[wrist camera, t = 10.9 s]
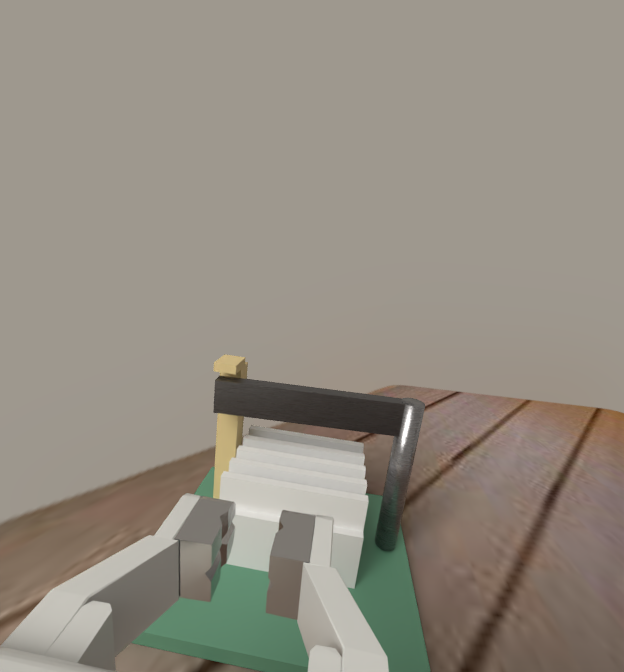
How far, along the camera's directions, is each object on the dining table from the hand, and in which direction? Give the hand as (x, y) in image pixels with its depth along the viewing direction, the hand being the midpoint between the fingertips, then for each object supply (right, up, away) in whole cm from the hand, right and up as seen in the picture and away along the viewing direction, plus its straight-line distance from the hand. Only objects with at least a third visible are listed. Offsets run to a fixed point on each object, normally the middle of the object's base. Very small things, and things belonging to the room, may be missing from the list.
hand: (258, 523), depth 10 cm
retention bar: (+1, -13, +22) cm, 26 cm away
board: (-1, -15, +21) cm, 26 cm away
